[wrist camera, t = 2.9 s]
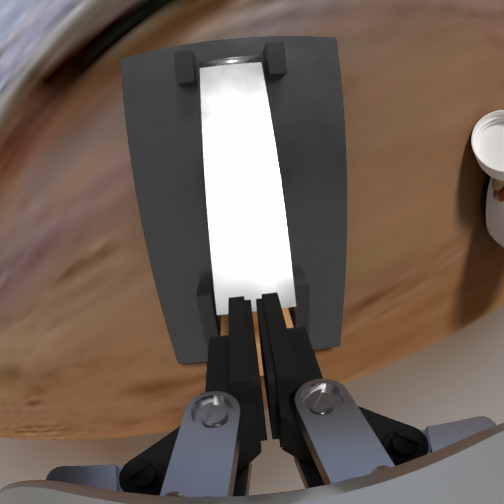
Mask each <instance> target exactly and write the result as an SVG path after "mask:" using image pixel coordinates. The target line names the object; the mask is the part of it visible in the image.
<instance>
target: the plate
mask: <svg viewBox="0 0 504 504" xmlns="http://www.w3.org/2000/svg"><path fill="white" fill-rule="evenodd" d="M259 55H260V56H261V63H262V68H263V74H264V80H265V85H266V91H267V97H268V103H269V109H270V115H271V121H272V127H273V133H274V139H275V146H276V152H277V159H278V166H279V173H280V179H281V186H282V194H283V201H284V208H285V216H286V223H287V231H288V239H289V247H290V255H291V263H292V272H293V281H294V290H295V299H296V307H289V308H288V310H289V313H290V317H291V320H292V323H293V327H301V326H304V327H305V329H306V331H307V334H308V337H309V340H310V343H311V345H312V348H313V350H318V349H324V348H330V347H336V346H340V338H341V328H342V316H343V303H344V288H345V269H346V242H347V167H346V140H345V122H344V108H343V95H342V84H341V74H340V64H339V56H338V48H337V40H336V38H330V37H308V36H271V37H249V38H236V39H225V40H215V41H207V42H200V43H193V44H186V45H180V46H175V47H169V48H164V49H159V50H154V51H150V52H145V53H141V54H137V55H133V56H129V57H125V58H121V73H122V86H123V98H124V108H125V118H126V127H127V135H128V143H129V150H130V157H131V164H132V171H133V177H134V183H135V189H136V195H137V200H138V206H139V211H140V216H141V222H142V227H143V231H144V236H145V241H146V246H147V250H148V255H149V259H150V263H151V268H152V272H153V276H154V280H155V284H156V288H157V292H158V296H159V299H160V303H161V307H162V311H163V314H164V318H165V321H166V325H167V328H168V332H169V335H170V339H171V342H172V345H173V349H174V352H175V355H176V358H177V361H178V363H197V362H207V361H208V347H209V338H210V337H211V336H221V315H217V312H216V302H215V293H214V283H213V273H212V262H211V251H210V240H209V228H208V215H207V202H206V188H205V173H204V156H203V138H202V117H201V92H200V65H199V62H200V61H205V60H213V59H222V58H232V57H244V56H259Z"/></svg>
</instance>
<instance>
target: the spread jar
mask: <svg viewBox="0 0 504 504" xmlns="http://www.w3.org/2000/svg"><path fill="white" fill-rule="evenodd" d="M471 145H472V148H473V152H474V154H475V157H476V160H477V162H478V164H479V166H480V167H481V168H482V169H483V171H484V172H486V173H487V175H486V178H485V182H484V186H483V194H482V207H483V216H484V221H485V225H486V228H487V230H488V232H489V234H490V235H491V236H492V238H493V239H494V240H495V241H496V242H497V243H498V244H500V245H501V246H502V247H503V248H504V110H499V111H494V112H491V113H489V114H487V115H485V116H484V117H483V118H481V119H480V120H479V121H478V122H477V124H476V125H475V127H474V129H473V132H472V136H471Z"/></svg>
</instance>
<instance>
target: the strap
mask: <svg viewBox="0 0 504 504" xmlns="http://www.w3.org/2000/svg"><path fill="white" fill-rule="evenodd" d="M199 65H200V92H201V117H202V138H203V156H204V173H205V188H206V202H207V215H208V228H209V240H210V251H211V262H212V273H213V283H214V293H215V302H216V312H217V315H224V314H228V298H230V297H240V296H244V299H245V300H251V305H252V312H254V311H257V307H256V299H260V298H262V294H267V293H276V292H277V293H278V297H279V300H280V304H281V308H289V307H296V299H295V290H294V281H293V272H292V263H291V255H290V247H289V239H288V231H287V223H286V216H285V208H284V201H283V194H282V186H281V179H280V173H279V166H278V159H277V152H276V146H275V139H274V133H273V127H272V121H271V115H270V109H269V103H268V97H267V91H266V85H265V80H264V74H263V68H262V63H261V56H260V55H259V56H244V57H232V58H222V59H213V60H205V61H200V62H199Z"/></svg>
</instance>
